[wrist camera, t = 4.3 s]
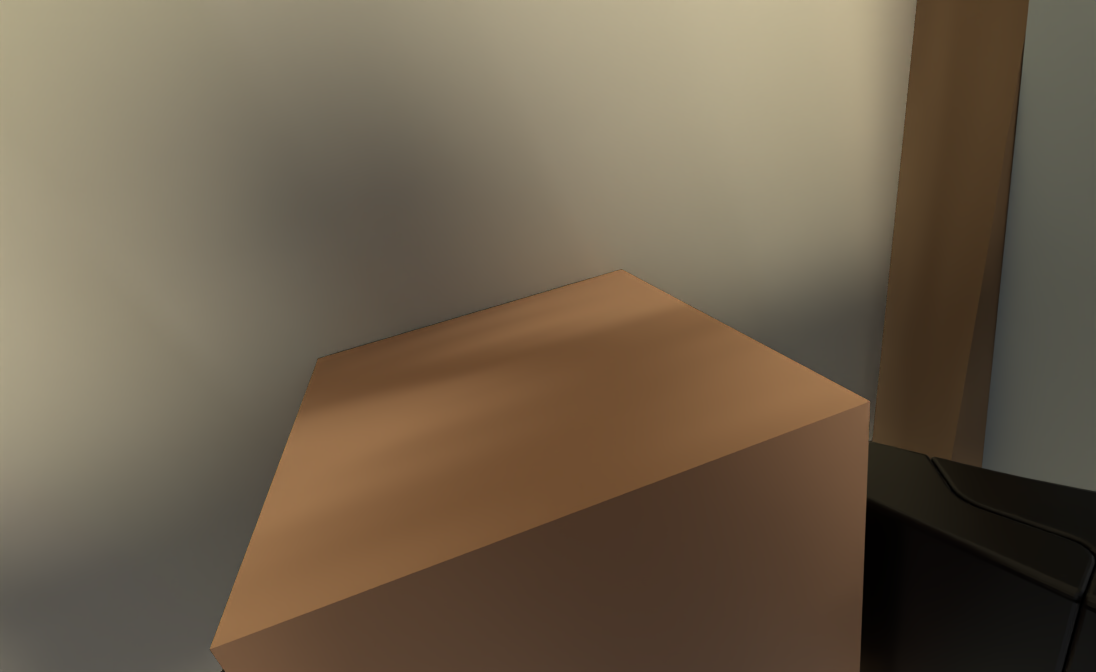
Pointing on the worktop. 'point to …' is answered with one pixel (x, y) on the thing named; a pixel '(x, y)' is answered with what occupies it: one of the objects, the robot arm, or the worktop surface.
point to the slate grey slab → (1049, 261)
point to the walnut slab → (950, 227)
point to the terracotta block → (561, 501)
